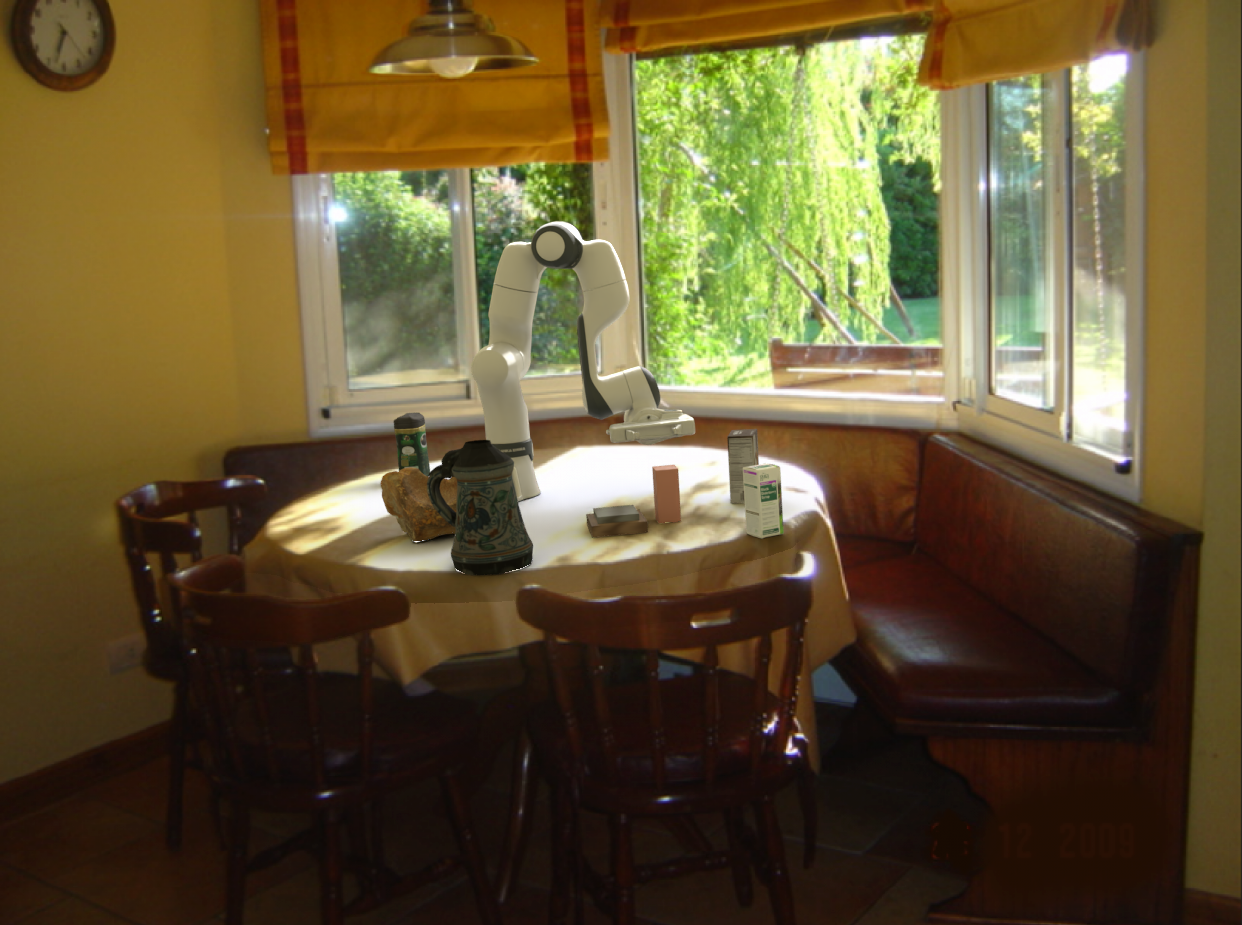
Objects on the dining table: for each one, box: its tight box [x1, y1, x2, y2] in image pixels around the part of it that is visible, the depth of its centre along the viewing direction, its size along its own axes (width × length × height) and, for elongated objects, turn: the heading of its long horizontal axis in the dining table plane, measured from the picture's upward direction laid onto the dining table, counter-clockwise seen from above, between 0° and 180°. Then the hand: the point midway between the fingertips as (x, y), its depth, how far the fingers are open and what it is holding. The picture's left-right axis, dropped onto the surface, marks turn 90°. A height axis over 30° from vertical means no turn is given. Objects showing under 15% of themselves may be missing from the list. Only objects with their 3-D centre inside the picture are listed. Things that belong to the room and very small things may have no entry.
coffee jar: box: [393, 412, 431, 477], centre depth 331 cm, size 10×8×19 cm
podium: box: [585, 504, 649, 538], centre depth 260 cm, size 12×12×4 cm
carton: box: [651, 464, 682, 524], centre depth 264 cm, size 5×5×12 cm
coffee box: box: [726, 428, 760, 504], centre depth 280 cm, size 9×6×16 cm
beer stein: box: [427, 439, 534, 577], centre depth 235 cm, size 16×19×25 cm
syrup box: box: [743, 462, 784, 539], centre depth 247 cm, size 6×6×14 cm
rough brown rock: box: [379, 467, 457, 541], centre depth 263 cm, size 23×17×15 cm
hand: (656, 434), depth 274 cm, fingers open, 8 cm apart
